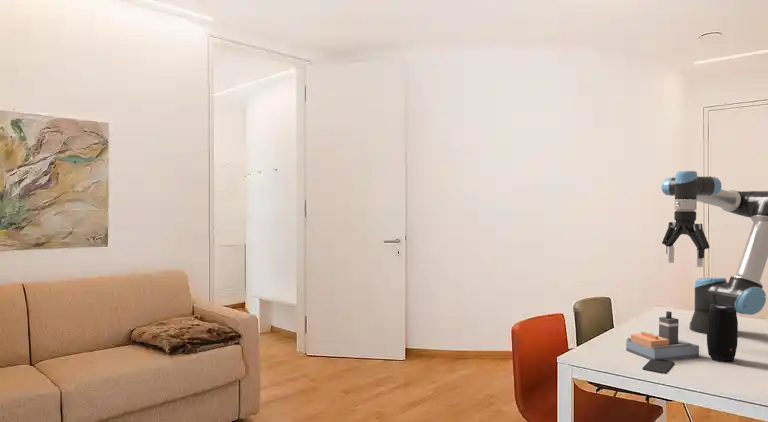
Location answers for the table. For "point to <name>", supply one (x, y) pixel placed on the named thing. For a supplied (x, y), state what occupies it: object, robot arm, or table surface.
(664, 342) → the panel
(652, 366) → the phone
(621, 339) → the table surface
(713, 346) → the portable speaker
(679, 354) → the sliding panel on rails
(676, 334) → the grey bottle-shaped block
